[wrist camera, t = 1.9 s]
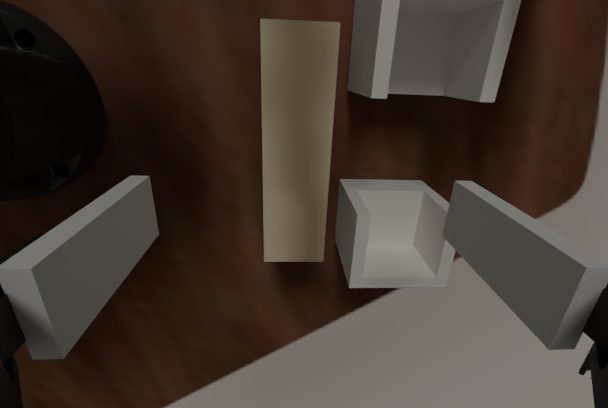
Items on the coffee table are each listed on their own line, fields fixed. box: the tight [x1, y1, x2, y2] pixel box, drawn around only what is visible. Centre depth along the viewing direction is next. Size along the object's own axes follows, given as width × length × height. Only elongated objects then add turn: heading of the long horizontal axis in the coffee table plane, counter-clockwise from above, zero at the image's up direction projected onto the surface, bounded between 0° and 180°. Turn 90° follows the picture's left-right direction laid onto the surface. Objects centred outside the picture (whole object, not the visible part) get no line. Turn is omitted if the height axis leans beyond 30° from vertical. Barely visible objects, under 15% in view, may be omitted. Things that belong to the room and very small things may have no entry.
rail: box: [260, 19, 340, 262], centre depth 23 cm, size 4×16×5 cm, turn 178°
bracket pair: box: [335, 0, 521, 288], centre depth 25 cm, size 8×21×8 cm, turn 178°
